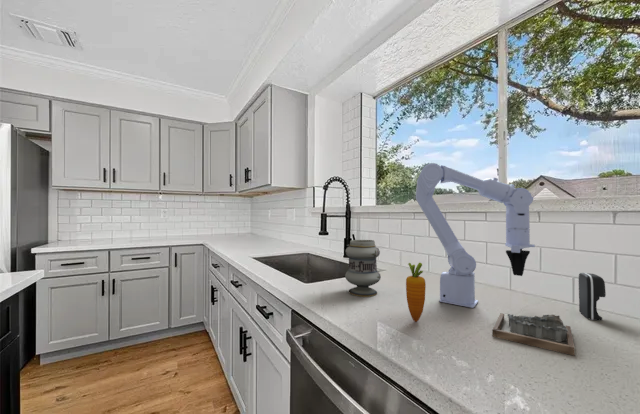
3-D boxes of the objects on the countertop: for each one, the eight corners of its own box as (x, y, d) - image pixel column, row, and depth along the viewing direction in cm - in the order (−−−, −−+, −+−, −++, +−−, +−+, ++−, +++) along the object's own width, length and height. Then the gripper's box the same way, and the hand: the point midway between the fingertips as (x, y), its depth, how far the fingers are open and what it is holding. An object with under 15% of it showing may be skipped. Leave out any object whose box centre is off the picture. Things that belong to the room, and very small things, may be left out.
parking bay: (492, 336, 63) (492, 329, 63) (500, 318, 74) (500, 313, 74) (574, 355, 55) (574, 347, 55) (570, 332, 65) (570, 326, 65)
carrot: (402, 318, 73) (402, 260, 74) (420, 318, 74) (420, 260, 74) (410, 326, 68) (409, 263, 69) (429, 325, 69) (429, 263, 69)
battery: (608, 323, 72) (607, 277, 72) (588, 320, 73) (587, 275, 74) (596, 314, 78) (595, 272, 78) (578, 312, 80) (577, 271, 80)
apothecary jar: (340, 289, 102) (340, 239, 103) (371, 287, 105) (371, 238, 106) (352, 298, 91) (352, 242, 91) (386, 296, 93) (386, 241, 94)
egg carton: (562, 333, 66) (562, 315, 66) (569, 345, 59) (569, 326, 60) (507, 323, 71) (507, 307, 72) (508, 333, 65) (508, 315, 65)
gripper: (533, 230, 76) (534, 281, 75) (535, 228, 87) (536, 273, 87) (502, 229, 80) (502, 277, 80) (507, 227, 92) (508, 270, 91)
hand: (518, 275), depth 84 cm, fingers closed
